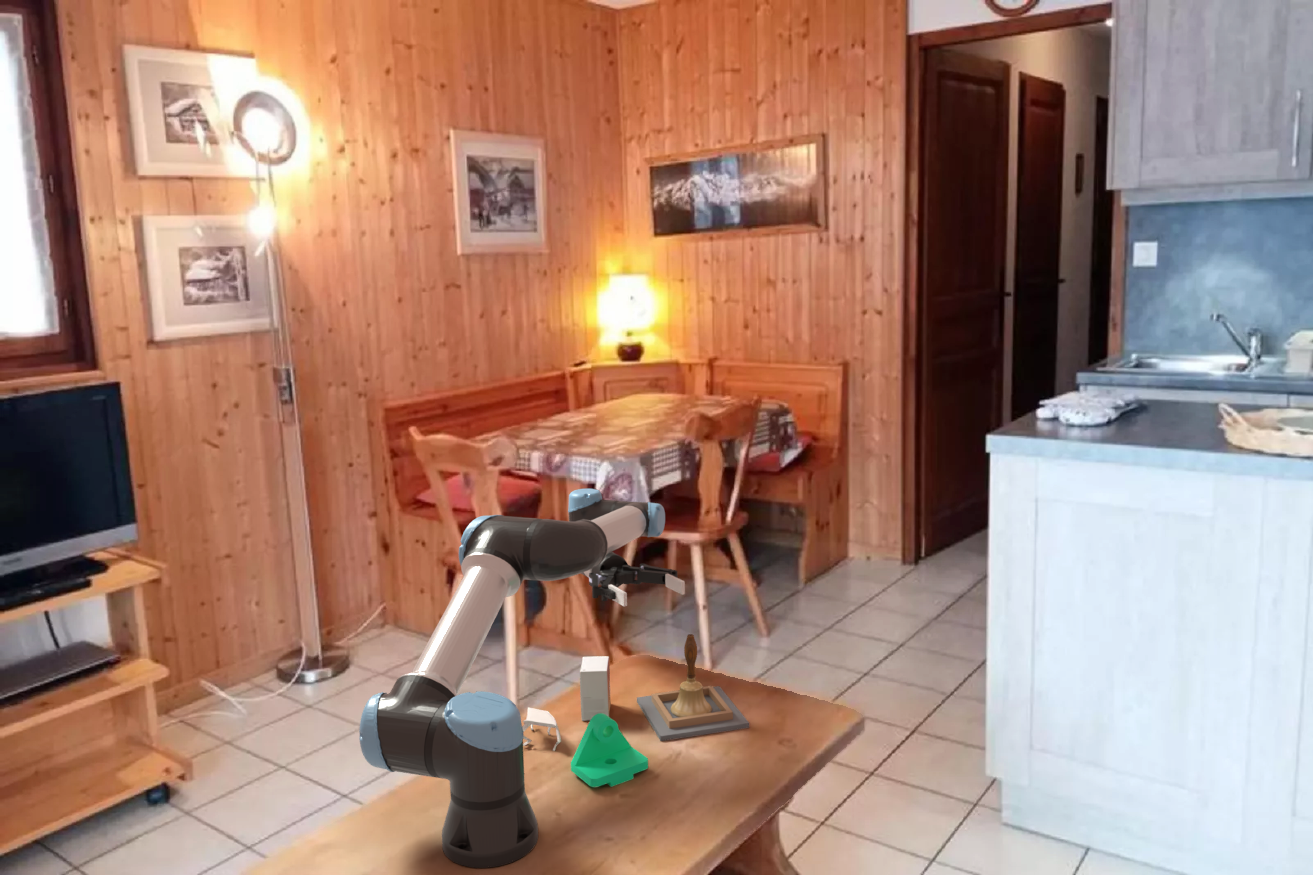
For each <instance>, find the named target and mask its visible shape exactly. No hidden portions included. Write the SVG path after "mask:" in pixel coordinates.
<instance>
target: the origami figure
mask: <svg viewBox="0 0 1313 875" xmlns="http://www.w3.org/2000/svg"><path fill="white" fill-rule="evenodd" d="M522 722H523V725H522V728H523V733H524V732H526V730H527V729H528V728H529V727H530V730H531V731H534V726H539V727H546V728H547V735H549V736H550V735H551V733H550V732H551V729H552V728H553V729H554V728H555V733H556V738H557V739H556V740H557V741H556V743H555V744H554V746H553V748H552V751H553V752H555V751H556V749H557V746H558V745H559V744H560V743H561V742H562V738H561V733H560V729H559V726H558V723H557V720H556V718H555V717H554V716H553V715H552V714H551V713H550V712H549V711H548V710H545V709H544V710H543V709H538V708H533V707H529V706H527V714H526V719H524V720H522ZM523 740H526V741H525V742H523V747H525V746H526V745H528V744H529V743H531V742H533V740H532V739H530V738H529V737H527V736H525V735H524V734H523Z"/></svg>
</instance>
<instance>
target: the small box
mask: <svg viewBox="0 0 1313 875" xmlns="http://www.w3.org/2000/svg"><path fill="white" fill-rule="evenodd" d="M610 670H611V668H610V656H605V655H604V656H603V655H601V656H600V655H599V656H597V655H596V656H593V655H592V656H582V660H581V665H580V669H579V687H580V688H579V689H580V692H579V695H580V696H579V697H580V713H581V717H580V718H581V721H582V722H583V721H584V722H585V721H587V722H588V721H590V720H591V719H592V717H593V716H595V715H596V714H599V713H603V714H605V715H607V716H608V717H610V710H611V677H610V675H611V672H610Z"/></svg>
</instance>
